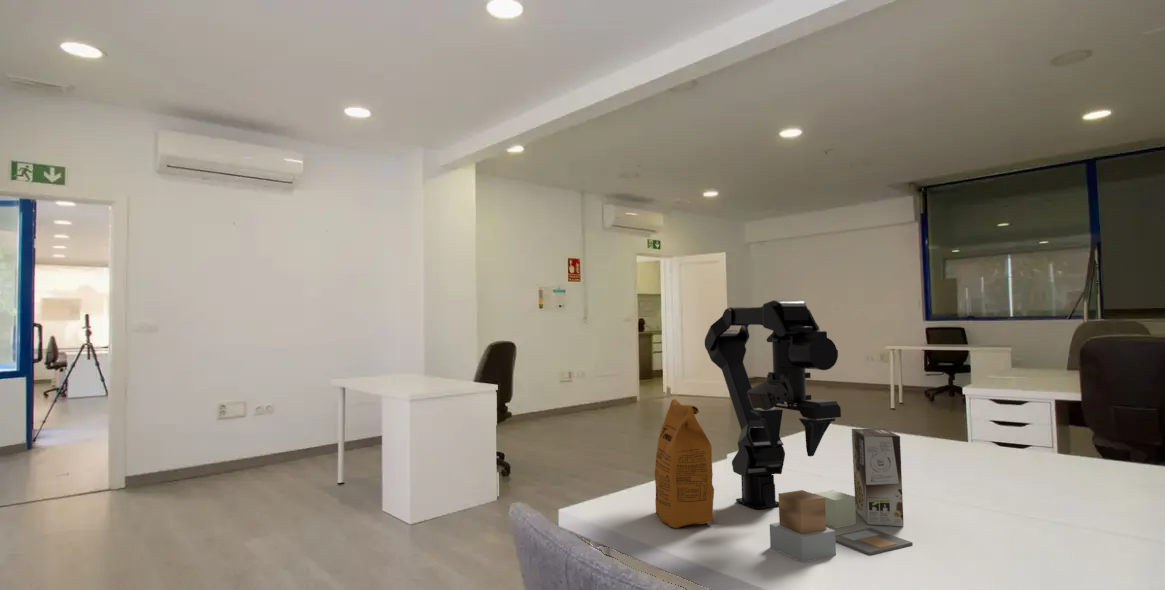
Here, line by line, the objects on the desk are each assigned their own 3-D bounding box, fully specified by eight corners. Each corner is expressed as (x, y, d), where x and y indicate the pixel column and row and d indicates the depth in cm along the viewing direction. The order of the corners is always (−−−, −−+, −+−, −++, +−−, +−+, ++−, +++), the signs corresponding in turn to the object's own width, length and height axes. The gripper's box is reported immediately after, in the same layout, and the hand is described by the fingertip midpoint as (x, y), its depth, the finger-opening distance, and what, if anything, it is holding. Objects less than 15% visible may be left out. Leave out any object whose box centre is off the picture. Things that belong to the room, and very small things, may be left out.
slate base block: (770, 548, 95) (769, 524, 96) (802, 542, 98) (801, 517, 98) (802, 564, 89) (801, 537, 89) (836, 556, 92) (835, 530, 92)
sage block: (814, 520, 109) (813, 493, 109) (834, 516, 111) (833, 490, 111) (836, 528, 104) (835, 500, 105) (856, 524, 106) (855, 496, 107)
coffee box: (905, 527, 104) (901, 436, 105) (866, 525, 106) (863, 435, 107) (889, 511, 113) (885, 427, 114) (854, 510, 115) (850, 427, 116)
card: (829, 538, 99) (828, 535, 99) (870, 530, 103) (870, 527, 103) (869, 555, 92) (869, 551, 92) (912, 544, 96) (912, 541, 96)
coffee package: (697, 507, 117) (695, 397, 119) (720, 528, 105) (716, 405, 106) (649, 510, 116) (647, 398, 117) (666, 531, 104) (663, 406, 105)
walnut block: (779, 524, 95) (778, 493, 96) (803, 520, 97) (802, 490, 97) (801, 534, 91) (800, 501, 91) (826, 529, 93) (824, 497, 93)
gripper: (722, 365, 114) (724, 446, 113) (792, 371, 97) (795, 466, 96) (767, 364, 119) (769, 441, 118) (841, 369, 102) (844, 459, 101)
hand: (791, 451), depth 108 cm, fingers open, 9 cm apart
